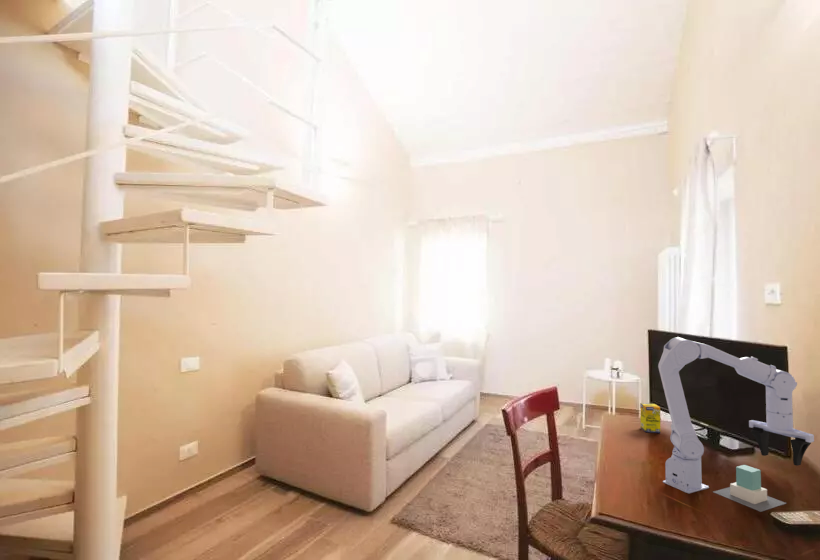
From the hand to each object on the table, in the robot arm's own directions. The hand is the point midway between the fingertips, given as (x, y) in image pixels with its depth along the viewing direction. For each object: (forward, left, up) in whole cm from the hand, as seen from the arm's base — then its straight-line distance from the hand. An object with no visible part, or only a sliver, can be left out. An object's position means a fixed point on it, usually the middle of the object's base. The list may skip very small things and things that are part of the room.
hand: (780, 459), depth 119 cm
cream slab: (-10, +3, -10) cm, 15 cm away
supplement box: (+19, +55, -11) cm, 59 cm away
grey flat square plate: (-10, +3, -10) cm, 15 cm away
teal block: (-10, +3, -7) cm, 12 cm away
